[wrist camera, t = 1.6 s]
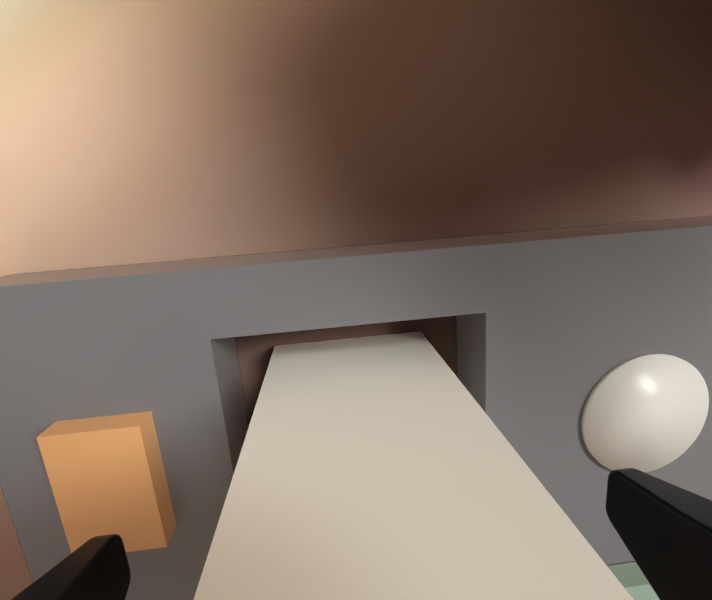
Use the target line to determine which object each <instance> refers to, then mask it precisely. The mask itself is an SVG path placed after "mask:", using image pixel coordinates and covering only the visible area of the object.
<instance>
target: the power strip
mask: <svg viewBox="0 0 712 600" xmlns="http://www.w3.org/2000/svg"><path fill="white" fill-rule="evenodd" d="M447 316H456V317H457V378H458V379H459V380H460V381H461V383H462V384H463V385H464V386H465V388H466V389H467V390H468V391H469V393H470V394H471V395H472V397H473V398H474V399H475V400H476V402H477V403H478V404H479V405H480V407H481V408H482V409H483V410H484V412H485V413H486V414H487V415H488V417H489V418H490V419H491V420H492V422H493V423H494V424H495V425H496V427H497V428H498V429H499V431H500V432H501V433H502V434H503V436H504V437H505V438H506V439H507V441H508V442H509V443H510V444H511V446H512V447H513V448H514V449H515V451H516V452H517V453H518V454H519V456H520V457H521V458H522V459H523V461H524V462H525V463H526V465H527V466H528V467H529V468H530V470H531V471H532V472H533V473H534V475H535V476H536V477H537V478H538V480H539V481H540V482H541V483H542V485H543V486H544V487H545V488H546V490H547V491H548V492H549V493H550V495H551V496H552V497H553V499H554V500H555V501H556V502H557V504H558V505H559V506H560V507H561V509H562V510H563V511H564V512H565V514H566V515H567V516H568V517H569V519H570V520H571V521H572V522H573V524H574V525H575V526H576V527H577V529H578V530H579V531H580V533H581V534H582V535H583V536H584V538H585V539H586V540H587V541H588V543H589V544H590V545H591V546H592V548H593V549H594V550H595V551H596V553H597V554H598V555H599V556H600V558H601V559H602V560H603V561H604V563H605V564H606V565H610V564H617V563H624V562H631V561H635V560H634V558H633V557H632V555H631V554H630V552H629V550H628V549H627V547H626V546H625V544H624V542H623V541H622V539H621V538H620V536H619V535H618V533H617V531H616V530H615V528H614V527H613V525H612V523H611V522H610V520H609V518H608V515H607V512H606V494H607V482H608V475H609V473H610V472H611V471H612V470H616V469H623V468H635V469H638V470H640V471H642V472H645V473H647V474H650V475H652V476H654V477H657V478H659V479H662V480H664V481H666V482H669V483H671V484H673V485H676V486H678V487H681V488H683V489H685V490H688V491H690V492H693V493H695V494H697V495H700V496H702V497H704V498H707V499H709V500H712V216H704V217H692V218H680V219H668V220H656V221H644V222H632V223H620V224H608V225H597V226H585V227H573V228H561V229H549V230H537V231H525V232H513V233H501V234H489V235H477V236H465V237H453V238H441V239H429V240H417V241H405V242H393V243H381V244H369V245H357V246H346V247H334V248H322V249H310V250H298V251H286V252H274V253H262V254H250V255H238V256H226V257H214V258H202V259H190V260H178V261H166V262H154V263H142V264H130V265H118V266H106V267H94V268H83V269H71V270H59V271H47V272H35V273H23V274H12V275H8V276H3V277H0V485H1V488H2V491H3V494H4V497H5V500H6V503H7V506H8V509H9V512H10V515H11V518H12V521H13V524H14V527H15V529H16V532H17V535H18V538H19V541H20V544H21V547H22V550H23V553H24V556H25V559H26V562H27V565H28V568H29V571H30V574H31V577H32V580H33V582H35V581H36V580H37V579H39V578H40V577H41V576H42V575H44V574H45V573H46V572H48V571H49V570H50V569H52V568H53V567H54V566H55V565H57V564H58V563H59V562H61V561H62V560H63V559H65V558H66V557H67V556H68V555H70V554H71V553H72V552H74V551H75V550H76V549H78V548H79V547H80V546H81V545H83V544H84V543H85V542H87V541H88V540H89V539H91V538H93V537H95V536H100V535H108V534H118V535H120V537H121V538H122V540H123V544H124V548H125V551H126V555H127V559H128V563H129V567H130V573H131V577H130V584H129V588H128V591H127V595H126V598H125V600H194V597H195V594H196V590H197V587H198V584H199V581H200V578H201V575H202V572H203V568H204V565H205V562H206V559H207V556H208V553H209V550H210V547H211V543H212V540H213V537H214V534H215V531H216V528H217V525H218V522H219V518H220V515H221V512H222V509H223V506H224V503H225V500H226V496H227V493H228V490H229V487H230V484H231V481H232V478H233V475H234V471H235V468H236V465H237V462H238V459H239V456H240V453H241V450H242V446H243V443H244V440H245V437H246V434H247V431H248V428H249V427H248V420H247V414H246V407H245V401H244V395H243V388H242V382H241V375H240V369H239V362H238V356H237V349H236V343H235V337H241V336H251V335H262V334H272V333H282V332H292V331H303V330H313V329H323V328H334V327H344V326H354V325H364V324H375V323H385V322H395V321H406V320H416V319H426V318H436V317H447Z"/></svg>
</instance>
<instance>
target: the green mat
mask: <svg viewBox="0 0 712 600" xmlns="http://www.w3.org/2000/svg"><path fill="white" fill-rule="evenodd" d="M608 568H609V569H610V570H611V572H612V573H613V574H614V575H615V577H616V578H617V579H618V580H619V582H620V583H621V584H622V585H623V587H624V588H625V589H626V590H627V592H628V593H629V594H630V595H631V597H632V598H633V599H634V600H660V599H659V598H658V596H657V595H656V593H655V592H654V590H653V588H652V587H651V585H650V584H649V582H648V581H647V579H646V577H645V576H644V574H643V573H642V571H641V569H640V568H639V566H638V565H637V563H636V562H630V563H623V564H616V565H609V566H608Z"/></svg>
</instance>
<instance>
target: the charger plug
mask: <svg viewBox="0 0 712 600" xmlns="http://www.w3.org/2000/svg"><path fill="white" fill-rule="evenodd" d="M194 600H634V599H633V598H632V597H631V595H630V594H629V593H628V592H627V590H626V589H625V588H624V587H623V585H622V584H621V583H620V582H619V580H618V579H617V578H616V577H615V575H614V574H613V573H612V572H611V570H610V569H609V568H608V566H607V565H606V564H605V563H604V561H603V560H602V559H601V558H600V556H599V555H598V554H597V553H596V551H595V550H594V549H593V548H592V546H591V545H590V544H589V543H588V541H587V540H586V539H585V538H584V536H583V535H582V534H581V533H580V531H579V530H578V529H577V527H576V526H575V525H574V524H573V522H572V521H571V520H570V519H569V517H568V516H567V515H566V514H565V512H564V511H563V510H562V509H561V507H560V506H559V505H558V504H557V502H556V501H555V500H554V499H553V497H552V496H551V495H550V493H549V492H548V491H547V490H546V488H545V487H544V486H543V485H542V483H541V482H540V481H539V480H538V478H537V477H536V476H535V475H534V473H533V472H532V471H531V470H530V468H529V467H528V466H527V465H526V463H525V462H524V461H523V459H522V458H521V457H520V456H519V454H518V453H517V452H516V451H515V449H514V448H513V447H512V446H511V444H510V443H509V442H508V441H507V439H506V438H505V437H504V436H503V434H502V433H501V432H500V431H499V429H498V428H497V427H496V425H495V424H494V423H493V422H492V420H491V419H490V418H489V417H488V415H487V414H486V413H485V412H484V410H483V409H482V408H481V407H480V405H479V404H478V403H477V402H476V400H475V399H474V398H473V397H472V395H471V394H470V393H469V391H468V390H467V389H466V388H465V386H464V385H463V384H462V383H461V381H460V380H459V379H458V378H457V376H456V375H455V374H454V373H453V371H452V370H451V369H450V368H449V366H448V365H447V364H446V363H445V361H444V360H443V359H442V357H441V356H440V355H439V354H438V352H437V351H436V350H435V349H434V347H433V346H432V345H431V344H430V342H429V341H428V340H427V339H426V337H425V336H424V335H423V334H422V332H421V331H419V332H409V333H398V334H388V335H378V336H368V337H358V338H348V339H338V340H328V341H318V342H308V343H298V344H288V345H278V346H274V349H273V352H272V356H271V359H270V362H269V365H268V368H267V371H266V374H265V378H264V381H263V384H262V387H261V390H260V393H259V396H258V399H257V403H256V406H255V409H254V412H253V415H252V418H251V421H250V424H249V428H248V431H247V434H246V437H245V440H244V443H243V446H242V450H241V453H240V456H239V459H238V462H237V465H236V468H235V471H234V475H233V478H232V481H231V484H230V487H229V490H228V493H227V496H226V500H225V503H224V506H223V509H222V512H221V515H220V518H219V522H218V525H217V528H216V531H215V534H214V537H213V540H212V543H211V547H210V550H209V553H208V556H207V559H206V562H205V565H204V568H203V572H202V575H201V578H200V581H199V584H198V587H197V590H196V594H195V597H194Z"/></svg>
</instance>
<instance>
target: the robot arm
mask: <svg viewBox="0 0 712 600" xmlns="http://www.w3.org/2000/svg"><path fill="white" fill-rule="evenodd" d="M606 512H607V515H608V518H609V520H610V522H611V523H612V525H613V527H614V528H615V530H616V531H617V533H618V535H619V536H620V538H621V539H622V541H623V542H624V544H625V546H626V547H627V549H628V550H629V552H630V554H631V555H632V557H633V558H634V560H635V561H636V563H637V565H638V566H639V568H640V569H641V571H642V573H643V574H644V576H645V577H646V579H647V581H648V582H649V584H650V585H651V587H652V588H653V590H654V592H655V593H656V595H657V596H658V598H659V599H660V600H712V500H709V499H707V498H704V497H702V496H700V495H697V494H695V493H693V492H690V491H688V490H685V489H683V488H681V487H678V486H676V485H673V484H671V483H669V482H666V481H664V480H662V479H659V478H657V477H654V476H652V475H650V474H647V473H645V472H642V471H640V470H638V469H635V468H623V469H616V470H612V471H611V472H610V473H609V475H608V482H607V494H606ZM130 577H131V573H130V567H129V563H128V559H127V555H126V551H125V548H124V544H123V540H122V538H121V537H120V535H118V534H108V535H100V536H95V537H93V538H91V539H89V540H88V541H87V542H85V543H84V544H83V545H81V546H80V547H79V548H78V549H76V550H75V551H74V552H72V553H71V554H70V555H68V556H67V557H66V558H65V559H63V560H62V561H61V562H59V563H58V564H57V565H55V566H54V567H53V568H52V569H50V570H49V571H48V572H46V573H45V574H44V575H42V576H41V577H40V578H39V579H37V580H36V581H35V582H33V583H32V584H31V585H29V586H28V587H27V588H26V589H24V590H23V591H22V592H20V593H19V594H18V595H16V596H15V597H14V598H13V599H11V600H125V598H126V595H127V591H128V588H129V584H130Z"/></svg>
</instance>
